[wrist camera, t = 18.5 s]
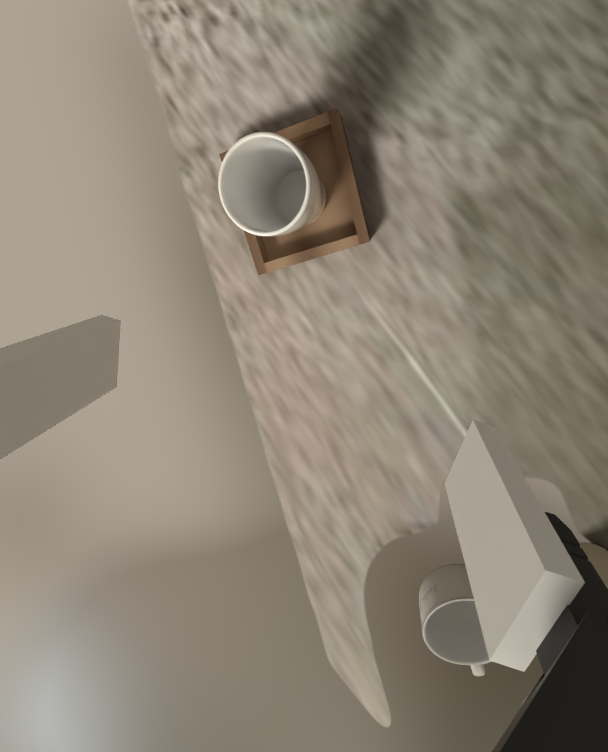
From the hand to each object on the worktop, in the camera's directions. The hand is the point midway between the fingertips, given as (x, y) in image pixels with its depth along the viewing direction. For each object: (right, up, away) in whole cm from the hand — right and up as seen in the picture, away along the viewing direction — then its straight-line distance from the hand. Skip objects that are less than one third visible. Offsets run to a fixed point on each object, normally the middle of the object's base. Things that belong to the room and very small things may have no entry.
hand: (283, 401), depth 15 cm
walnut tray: (0, +19, +28) cm, 34 cm away
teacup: (+22, -29, +42) cm, 56 cm away
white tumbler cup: (0, +19, +27) cm, 34 cm away
